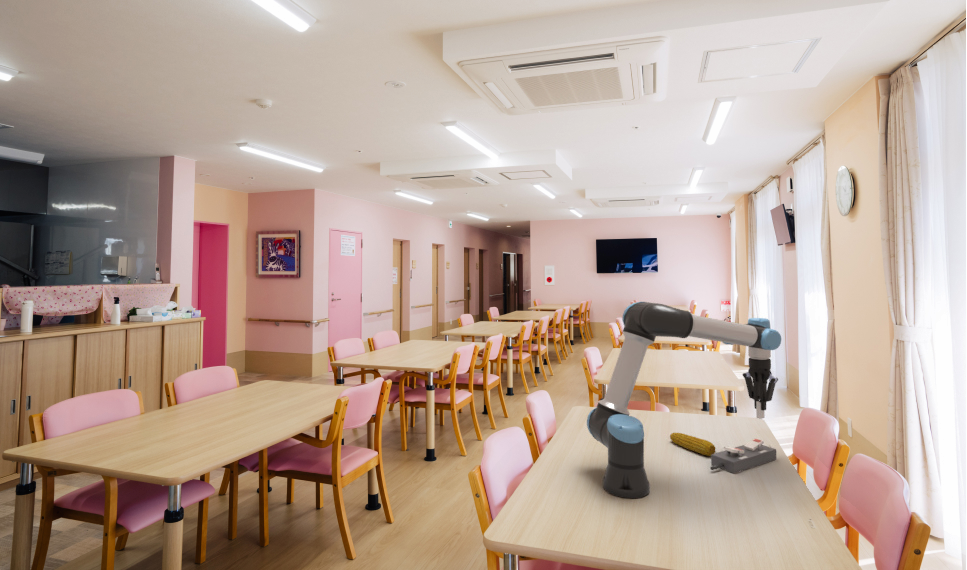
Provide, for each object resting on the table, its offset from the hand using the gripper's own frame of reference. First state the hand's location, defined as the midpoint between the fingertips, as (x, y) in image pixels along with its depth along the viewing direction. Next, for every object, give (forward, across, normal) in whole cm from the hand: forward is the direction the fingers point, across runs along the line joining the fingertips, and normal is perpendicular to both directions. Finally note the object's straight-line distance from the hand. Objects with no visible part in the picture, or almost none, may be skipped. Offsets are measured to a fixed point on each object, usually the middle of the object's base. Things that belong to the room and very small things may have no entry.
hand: (760, 417), depth 184 cm
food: (+16, +19, +16) cm, 30 cm away
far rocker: (+10, 0, +4) cm, 11 cm away
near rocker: (+10, 0, +16) cm, 19 cm away
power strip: (+15, 0, +13) cm, 20 cm away
